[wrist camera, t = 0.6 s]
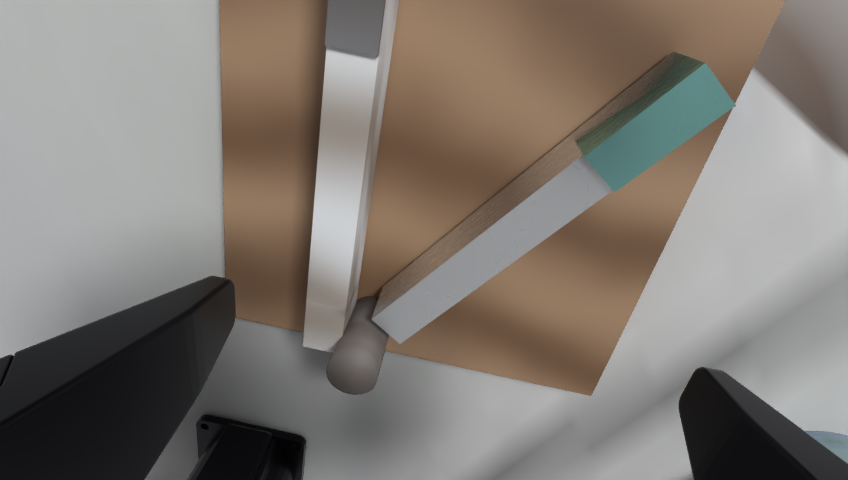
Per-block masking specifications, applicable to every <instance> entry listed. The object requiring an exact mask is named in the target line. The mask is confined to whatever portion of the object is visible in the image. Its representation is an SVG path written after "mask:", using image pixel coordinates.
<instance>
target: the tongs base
mask: <svg viewBox="0 0 848 480" xmlns="http://www.w3.org/2000/svg"><path fill="white" fill-rule="evenodd" d="M784 3H785V0H220V47H221V95H222V142H223V189H224V237H225V278H227V279H231V280H232V281H233V282H234V285H235V303H236V318H240V319H244V320H249V321H253V322H258V323H262V324H267V325H272V326H276V327H281V328H285V329H290V330H294V331H299V332H303V333H304V337H303V347H308V348H312V349H317V350H321V351H326V352H331V353H333V354H332V357H331V359H330V361H329V364H328V366H327V370H326V373H327V378H328V380H329V381H330V383H331V384H332V385H333V386H334V387H335V388H337V389H338V390H340V391H342V392H345V393H348V394H354V395H357V394H364V393H367V392H369V391H370V390H372V389H373V388H374V386H375V384H376V381H377V378H378V374H379V371H380V367H381V363H382V360H383V356H384V352H385V351H390V352H394V353H399V354H403V355H408V356H413V357H417V358H422V359H426V360H431V361H435V362H440V363H444V364H449V365H453V366H458V367H463V368H467V369H472V370H476V371H481V372H485V373H490V374H494V375H499V376H504V377H508V378H513V379H517V380H522V381H526V382H531V383H535V384H540V385H544V386H549V387H554V388H558V389H563V390H567V391H572V392H576V393H581V394H585V395H590V396H591V395H592V393H593V391H594V389H595V387H596V385H597V383H598V381H599V379H600V377H601V375H602V373H603V371H604V369H605V367H606V365H607V363H608V361H609V359H610V357H611V355H612V353H613V351H614V349H615V346H616V344H617V342H618V340H619V338H620V336H621V334H622V332H623V330H624V328H625V326H626V324H627V322H628V320H629V318H630V316H631V314H632V312H633V310H634V308H635V306H636V304H637V302H638V300H639V298H640V296H641V294H642V292H643V290H644V287H645V285H646V283H647V281H648V279H649V277H650V275H651V273H652V271H653V269H654V267H655V265H656V263H657V261H658V259H659V257H660V255H661V253H662V251H663V249H664V247H665V245H666V243H667V241H668V239H669V237H670V235H671V233H672V231H673V228H674V226H675V224H676V222H677V220H678V218H679V216H680V214H681V212H682V210H683V208H684V206H685V204H686V202H687V200H688V198H689V196H690V194H691V192H692V190H693V188H694V186H695V184H696V182H697V180H698V178H699V176H700V174H701V172H702V169H703V167H704V165H705V163H706V161H707V159H708V157H709V155H710V153H711V151H712V149H713V147H714V145H715V143H716V141H717V139H718V137H719V135H720V133H721V131H722V129H723V127H724V125H725V123H726V121H727V119H728V117H729V115H730V113H731V110H732V109H730V110H729V111H728V112H726V113H725V114H723V115H722V116H721V117H719V118H718V119H716V120H715V121H714V122H712V123H711V124H709V125H708V126H707V127H705V128H704V129H702V130H701V131H700V132H698V133H697V134H696V135H694V136H693V137H691V138H690V139H689V140H687V141H686V142H684V143H683V144H682V145H680V146H679V147H677V148H676V149H675V150H673V151H672V152H670V153H669V154H668V155H666V156H665V157H664V158H662V159H661V160H659V161H658V162H657V163H655V164H654V165H652V166H651V167H650V168H648V169H647V170H645V171H644V172H643V173H641V174H640V175H638V176H637V177H636V178H634V179H633V180H631V181H630V182H629V183H627V184H626V185H625V186H623V187H622V188H620V189H619V190H618V191H616V192H614V191H611V192H610V193H609V194H607V195H606V196H605V197H603V198H602V199H600V200H599V201H598V202H596V203H595V204H593V205H592V206H591V207H589V208H588V209H587V210H585V211H584V212H582V213H581V214H580V215H578V216H577V217H575V218H574V219H573V220H571V221H570V222H569V223H567V224H566V225H564V226H563V227H562V228H560V229H559V230H557V231H556V232H555V233H553V234H552V235H551V236H549V237H548V238H546V239H545V240H544V241H542V242H541V243H539V244H538V245H537V246H535V247H534V248H532V249H531V250H530V251H528V252H527V253H526V254H524V255H523V256H521V257H520V258H519V259H517V260H516V261H514V262H513V263H512V264H510V265H509V266H508V267H506V268H505V269H503V270H502V271H501V272H499V273H498V274H496V275H495V276H494V277H492V278H491V279H490V280H488V281H487V282H485V283H484V284H483V285H481V286H480V287H478V288H477V289H476V290H474V291H473V292H472V293H470V294H469V295H467V296H466V297H465V298H463V299H462V300H460V301H459V302H458V303H456V304H455V305H454V306H452V307H451V308H449V309H448V310H447V311H445V312H444V313H442V314H441V315H440V316H438V317H437V318H436V319H434V320H433V321H431V322H430V323H429V324H427V325H426V326H424V327H423V328H422V329H420V330H419V331H417V332H416V333H415V334H413V335H412V336H411V337H409V338H408V339H406V340H405V341H404V342H402V343H401V344H399V343H398V342H397V341H396V340H395V339H393V338H392V337H391V336H390V335H389V334H388V333H386V332H385V331H384V330H383V329H382V328H381V327H379V326H378V325H377V324H376V323H375V322H374V321H373V320H371V319H372V316H373V313H374V310H375V307H376V305H377V302H378V299H379V296H380V293H381V290H382V287H383V286H384V285H385V284H386V283H387V282H389V281H390V280H391V279H392V278H394V277H395V276H396V275H397V274H399V273H400V272H401V271H402V270H404V269H405V268H406V267H407V266H409V265H410V264H411V263H412V262H413V261H415V260H416V259H417V258H418V257H420V256H421V255H422V254H423V253H425V252H426V251H427V250H428V249H430V248H431V247H432V246H433V245H434V244H436V243H437V242H438V241H439V240H441V239H442V238H443V237H444V236H446V235H447V234H448V233H449V232H451V231H452V230H453V229H454V228H456V227H457V226H458V225H459V224H460V223H462V222H463V221H464V220H465V219H467V218H468V217H469V216H470V215H472V214H473V213H474V212H475V211H477V210H478V209H479V208H480V207H482V206H483V205H484V204H485V203H486V202H488V201H489V200H490V199H491V198H493V197H494V196H495V195H496V194H498V193H499V192H500V191H501V190H503V189H504V188H505V187H506V186H507V185H509V184H510V183H511V182H512V181H514V180H515V179H516V178H517V177H519V176H520V175H521V174H522V173H524V172H525V171H526V170H527V169H529V168H530V167H531V166H532V165H533V164H535V163H536V162H537V161H538V160H540V159H541V158H542V157H543V156H545V155H546V154H547V153H548V152H550V151H551V150H552V149H553V148H555V147H556V146H557V145H558V144H559V143H561V142H562V141H563V140H564V139H566V138H567V137H568V136H569V135H571V134H572V133H573V132H574V131H576V130H577V129H578V128H579V127H580V126H582V125H583V124H584V123H585V122H587V121H588V120H589V119H590V118H592V117H593V116H594V115H595V114H597V113H598V112H599V111H600V110H602V109H603V108H604V107H605V106H606V105H608V104H609V103H610V102H611V101H613V100H614V99H615V98H616V97H618V96H619V95H620V94H621V93H623V92H624V91H625V90H626V89H628V88H629V87H630V86H631V85H632V84H634V83H635V82H636V81H637V80H639V79H640V78H641V77H642V76H644V75H645V74H646V73H647V72H649V71H650V70H651V69H652V68H653V67H655V66H656V65H657V64H658V63H660V62H661V61H662V60H663V59H665V58H666V57H667V56H668V55H670V54H671V53H672V52H676V53H679V54H682V55H685V56H688V57H691V58H693V59H696V60H699V61H702V62H705V63H706V64H707V65H708V67H709V68H710V70H711V71H712V72H713V74H714V75H715V77H716V78H717V79H718V81H719V82H720V84H721V85H722V87H723V88H724V89H725V91H726V92H727V94H728V95H729V96H730V98H731V99H732V101H733V102H734V103H735V102H736V100H737V98H738V96H739V94H740V92H741V90H742V88H743V86H744V84H745V82H746V80H747V78H748V76H749V74H750V72H751V70H752V68H753V66H754V63H755V62H756V60H757V57H758V56H759V54H760V51H761V49H762V47H763V45H764V43H765V41H766V39H767V37H768V35H769V33H770V31H771V29H772V27H773V25H774V23H775V21H776V19H777V17H778V15H779V13H780V11H781V9H782V7H783V5H784Z"/></svg>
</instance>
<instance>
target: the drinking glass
mask: <svg viewBox="0 0 848 480" xmlns="http://www.w3.org/2000/svg"><path fill="white" fill-rule="evenodd" d="M806 433H807V434H809V435H810V436H811V437H813V438H814V439H815V440H817V441H818V442H819V443H821V444H822V445H823V446H825V447H826V448H827V449H829V450H830V451H832V452H833V453H834V454H836V455H837V456H838V457H840V458H841V459H842V460H844V461H845V462H846V463H848V436H846V435H842V434H837V433H831V432H817V431H806Z"/></svg>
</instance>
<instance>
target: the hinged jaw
mask: <svg viewBox="0 0 848 480" xmlns="http://www.w3.org/2000/svg"><path fill="white" fill-rule="evenodd" d="M734 106H736V105H735V103H734V102H733V101H732V99H731V98H730V96H729V95H728V94H727V92H726V91H725V89H724V88H723V87H722V85H721V84H720V82H719V81H718V79H717V78H716V77H715V75H714V74H713V72H712V71H711V70H710V68H709V67H708V65H707V64H706V63H705V62H702V61H699V60H696V59H693V58H691V57H688V56H685V55H682V54H679V53H676V52H672V53H671V54H670V55H668V56H667V57H666V58H665V59H663V60H662V61H661V62H660V63H658V64H657V65H656V66H655V67H653V68H652V69H651V70H650V71H649V72H647V73H646V74H645V75H644V76H642V77H641V78H640V79H639V80H637V81H636V82H635V83H634V84H632V85H631V86H630V87H629V88H628V89H626V90H625V91H624V92H623V93H621V94H620V95H619V96H618V97H616V98H615V99H614V100H613V101H611V102H610V103H609V104H608V105H606V106H605V107H604V108H603V109H602V110H600V111H599V112H598V113H597V114H595V115H594V116H593V117H592V118H590V119H589V120H588V121H587V122H585V123H584V124H583V125H582V126H580V127H579V128H578V129H577V130H576V131H574V132H573V133H572V134H571V135H569V136H568V137H567V138H566V139H564V140H563V141H562V142H561V143H559V144H558V145H557V146H556V147H555V148H553V149H552V150H551V151H550V152H548V153H547V154H546V155H545V156H543V157H542V158H541V159H540V160H538V161H537V162H536V163H535V164H533V165H532V166H531V167H530V168H529V169H527V170H526V171H525V172H524V173H522V174H521V175H520V176H519V177H517V178H516V179H515V180H514V181H512V182H511V183H510V184H509V185H507V186H506V187H505V188H504V189H503V190H501V191H500V192H499V193H498V194H496V195H495V196H494V197H493V198H491V199H490V200H489V201H488V202H486V203H485V204H484V205H483V206H482V207H480V208H479V209H478V210H477V211H475V212H474V213H473V214H472V215H470V216H469V217H468V218H467V219H465V220H464V221H463V222H462V223H460V224H459V225H458V226H457V227H456V228H454V229H453V230H452V231H451V232H449V233H448V234H447V235H446V236H444V237H443V238H442V239H441V240H439V241H438V242H437V243H436V244H434V245H433V246H432V247H431V248H430V249H428V250H427V251H426V252H425V253H423V254H422V255H421V256H420V257H418V258H417V259H416V260H415V261H413V262H412V263H411V264H410V265H409V266H407V267H406V268H405V269H404V270H402V271H401V272H400V273H399V274H397V275H396V276H395V277H394V278H392V279H391V280H390V281H389V282H387V283H386V284H385V285H384V286H383V287H382V290H381V293H380V296H379V299H378V302H377V305H376V307H375V310H374V313H373V316H372V319H371V320H373V321H374V322H375V323H376V324H377V325H378V326H379V327H381V328H382V329H383V330H384V331H385V332H386V333H388V334H389V335H390V336H391V337H392V338H393V339H395V340H396V341H397V342H398V343H399V344H401V343H402V342H404V341H405V340H406V339H408V338H409V337H411V336H412V335H413V334H415V333H416V332H417V331H419V330H420V329H422V328H423V327H424V326H426V325H427V324H429V323H430V322H431V321H433V320H434V319H436V318H437V317H438V316H440V315H441V314H442V313H444V312H445V311H447V310H448V309H449V308H451V307H452V306H454V305H455V304H456V303H458V302H459V301H460V300H462V299H463V298H465V297H466V296H467V295H469V294H470V293H472V292H473V291H474V290H476V289H477V288H478V287H480V286H481V285H483V284H484V283H485V282H487V281H488V280H490V279H491V278H492V277H494V276H495V275H496V274H498V273H499V272H501V271H502V270H503V269H505V268H506V267H508V266H509V265H510V264H512V263H513V262H514V261H516V260H517V259H519V258H520V257H521V256H523V255H524V254H526V253H527V252H528V251H530V250H531V249H532V248H534V247H535V246H537V245H538V244H539V243H541V242H542V241H544V240H545V239H546V238H548V237H549V236H551V235H552V234H553V233H555V232H556V231H557V230H559V229H560V228H562V227H563V226H564V225H566V224H567V223H569V222H570V221H571V220H573V219H574V218H575V217H577V216H578V215H580V214H581V213H582V212H584V211H585V210H587V209H588V208H589V207H591V206H592V205H593V204H595V203H596V202H598V201H599V200H600V199H602V198H603V197H605V196H606V195H607V194H609V193H610V192H611V191H614V192H616V191H618V190H619V189H620V188H622V187H623V186H625V185H626V184H627V183H629V182H630V181H631V180H633V179H634V178H636V177H637V176H638V175H640V174H641V173H643V172H644V171H645V170H647V169H648V168H650V167H651V166H652V165H654V164H655V163H657V162H658V161H659V160H661V159H662V158H664V157H665V156H666V155H668V154H669V153H670V152H672V151H673V150H675V149H676V148H677V147H679V146H680V145H682V144H683V143H684V142H686V141H687V140H689V139H690V138H691V137H693V136H694V135H696V134H697V133H698V132H700V131H701V130H702V129H704V128H705V127H707V126H708V125H709V124H711V123H712V122H714V121H715V120H716V119H718V118H719V117H721V116H722V115H723V114H725V113H726V112H728V111H729V110H730V109H732V108H733V107H734Z"/></svg>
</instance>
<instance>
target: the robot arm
mask: <svg viewBox="0 0 848 480" xmlns="http://www.w3.org/2000/svg"><path fill="white" fill-rule="evenodd" d="M235 318H236V303H235V285H234V282H233V281H232V280H231V279H227V278H222V277H216V276H210V277H207V278H205V279H202V280H199V281H197V282H194V283H192V284H189V285H187V286H184V287H182V288H179V289H177V290H174V291H171V292H169V293H166V294H164V295H161V296H159V297H156V298H154V299H151V300H148V301H146V302H143V303H141V304H138V305H136V306H133V307H131V308H128V309H125V310H123V311H120V312H118V313H115V314H113V315H110V316H108V317H105V318H102V319H100V320H97V321H95V322H92V323H90V324H87V325H85V326H82V327H79V328H77V329H74V330H72V331H69V332H67V333H64V334H62V335H59V336H56V337H54V338H51V339H49V340H46V341H44V342H41V343H39V344H36V345H33V346H31V347H28V348H26V349H23V350H21V351H18V352H16V353H15V354H14V356H13V355H8V356H5V357H3V358H0V480H144V479H145V478H146V476H147V475H148V473H149V472H150V470H151V469H152V467H153V465H154V464H155V462H156V461H157V459H158V458H159V456H160V455H161V453H162V451H163V450H164V448H165V447H166V445H167V444H168V442H169V441H170V439H171V437H172V436H173V434H174V433H175V431H176V430H177V428H178V427H179V425H180V423H181V422H182V420H183V419H184V417H185V416H186V414H187V412H188V411H189V409H190V408H191V406H192V405H193V403H194V401H195V400H196V398H197V397H198V395H199V393H200V392H201V390H202V388H203V386H204V384H205V382H206V380H207V378H208V376H209V374H210V372H211V370H212V368H213V366H214V364H215V362H216V360H217V358H218V356H219V354H220V352H221V350H222V348H223V346H224V344H225V342H226V340H227V337H228V335H229V333H230V331H231V329H232V327H233V325H234V322H235ZM679 413H680V418H681V422H682V427H683V431H684V436H685V441H686V445H687V450H688V454H689V459H690V464H691V468H692V473H693V477H694V480H848V463H846V462H845V461H844V460H842V459H841V458H840V457H838V456H837V455H836V454H834V453H833V452H832V451H830V450H829V449H827V448H826V447H825V446H823V445H822V444H821V443H819V442H818V441H817V440H815V439H814V438H813V437H811V436H810V435H809V434H807V433H806V432H805V431H803V430H802V429H801V428H799V427H798V426H797V425H795V424H794V423H793V422H791V421H790V420H788V419H787V418H786V417H784V416H783V415H782V414H780V413H779V412H778V411H776V410H775V409H774V408H772V407H771V406H770V405H768V404H767V403H766V402H764V401H763V400H762V399H760V398H759V397H758V396H756V395H755V394H754V393H752V392H751V391H750V390H748V389H747V388H745V387H744V386H743V385H741V384H740V383H739V382H737V381H736V380H735V379H733V378H732V377H731V376H729V375H728V374H727V373H725V372H724V371H721V370H717V369H712V368H706V367H700V368H698V369H696V370H695V372H694V373H693V375H692V377H691V378H690V380H689V382H688V384H687V386H686V388H685V389H684V391H683V393H682V395H681V397H680V400H679ZM196 427H197V441H198V456H199V461H198V462H197V464H196V466H195V467H194V469H193V471H192V472H191V474H190V475H189V477H188V479H187V480H303V473H304V463H305V452H306V440H305V439H304V438H303V437H301V436H298V435H293V434H289V433H284V432H280V431H275V430H271V429H266V428H262V427H257V426H253V425H248V424H244V423H239V422H235V421H231V420H226V419H222V418H217V417H213V416H208V415H203V416H201V417H200V419H199V420H198V422H197V424H196Z"/></svg>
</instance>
